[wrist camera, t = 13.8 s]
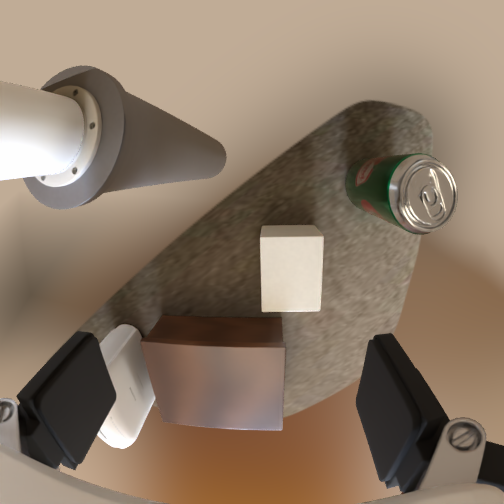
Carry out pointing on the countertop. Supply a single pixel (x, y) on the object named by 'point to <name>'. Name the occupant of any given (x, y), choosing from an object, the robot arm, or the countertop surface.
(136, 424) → the photo printer
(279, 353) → the storage box
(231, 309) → the countertop surface
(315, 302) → the white box
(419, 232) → the soda can
